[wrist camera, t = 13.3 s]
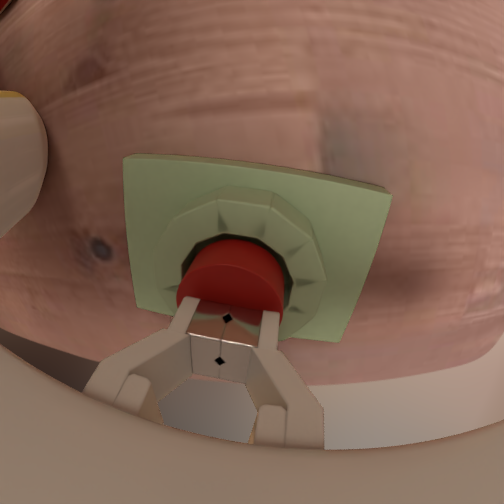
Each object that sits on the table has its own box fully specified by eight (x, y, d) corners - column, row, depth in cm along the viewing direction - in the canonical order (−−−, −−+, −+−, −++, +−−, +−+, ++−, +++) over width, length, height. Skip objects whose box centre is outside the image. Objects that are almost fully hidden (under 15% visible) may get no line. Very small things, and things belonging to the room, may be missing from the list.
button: (191, 308, 11) (178, 337, 10) (190, 231, 10) (173, 255, 8) (275, 323, 11) (273, 354, 10) (292, 247, 9) (293, 274, 8)
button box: (145, 295, 15) (122, 329, 12) (135, 153, 11) (97, 167, 8) (337, 327, 14) (343, 369, 12) (383, 187, 11) (411, 211, 8)
